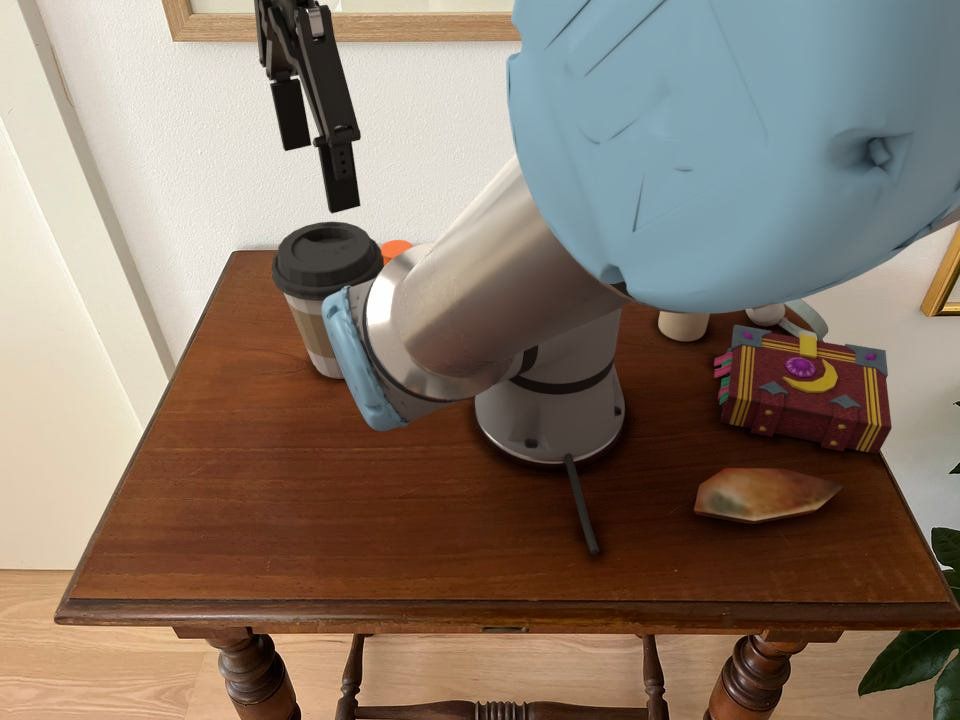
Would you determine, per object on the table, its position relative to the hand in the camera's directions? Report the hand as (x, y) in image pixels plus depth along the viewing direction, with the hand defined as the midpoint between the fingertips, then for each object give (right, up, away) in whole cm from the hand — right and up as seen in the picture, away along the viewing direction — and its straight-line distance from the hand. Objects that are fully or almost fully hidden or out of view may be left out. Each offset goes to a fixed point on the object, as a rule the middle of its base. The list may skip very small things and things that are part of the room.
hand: (319, 175), depth 68 cm
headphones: (+41, -5, +24) cm, 48 cm away
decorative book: (+48, -22, +8) cm, 53 cm away
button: (+5, -5, +21) cm, 23 cm away
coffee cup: (0, -17, +14) cm, 22 cm away
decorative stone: (+41, -29, -4) cm, 50 cm away
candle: (+39, -14, +17) cm, 45 cm away
